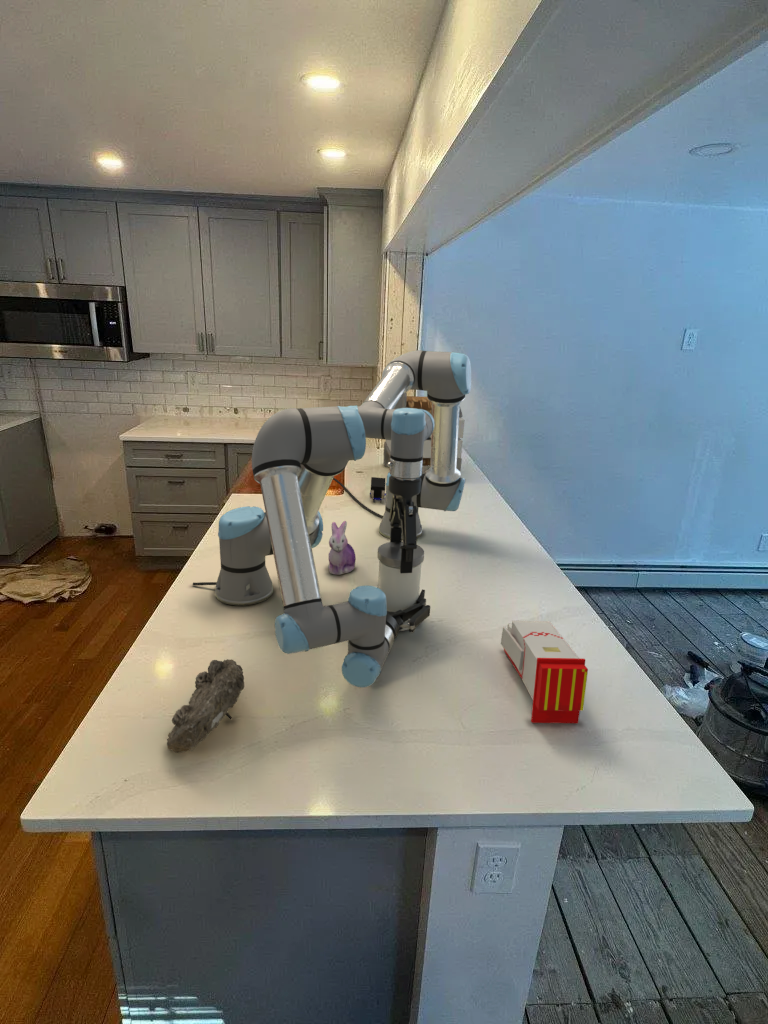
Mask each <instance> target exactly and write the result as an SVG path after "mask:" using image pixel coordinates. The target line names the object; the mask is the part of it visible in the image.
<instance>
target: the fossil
mask: <svg viewBox="0 0 768 1024" xmlns="http://www.w3.org/2000/svg"><path fill="white" fill-rule="evenodd" d="M243 670H244V669H243V667H242V665H240V664H237V662H236V661H235V660H234V659H232V658H231V659H227V658H226V659H224V660H223V661H222V660H217V659H212V660H211V661H210V663H209V665H208V666H207V671H201V672H199V673H198V674H197V675H196V676H195V680H194V684H195V685H194V687H195V689H194V690H193V693H192V694H191V697H190V698H189V700H188V704H184V705H182V706H181V707H180V709H177V710H176V711H175V713H174V715H173V716H172V718H171V723H172V724H173V727H172V730H171V731H170V732H168V734H167V738H166V741H167V742H166V745H167V749H168V750H169V751H173V752H174V753H176V754H178V753H182V752H188V751H189V752H192V751H193V750H195V748H196V747H197V746H199V744H200V743H201V742H203V741H204V740H205V739H206V738H207V737H208V736H209V735H210V734H211V733H212V732H214V730H215V729H217V727H218V726H219V724H220V722H221V721H222V720H223V719H224V718H225V716H226V717H227V719H229V720H233V717H232V715H230V714H229V710H230V709H231V708H234V706H235V704H236V703H237V702H238V699H239V697H240V695H241V693H242V691H243V690H245V689H244V688H245V675H244V671H243Z"/></svg>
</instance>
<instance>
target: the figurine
mask: <svg viewBox="0 0 768 1024" xmlns="http://www.w3.org/2000/svg"><path fill="white" fill-rule="evenodd" d="M347 525H348V522H347V520H344V521H343V522H341V524H340V526H339V527H338V525H337V523H336V522H335V521H332V522H331V536H330V537H329V540H328V545H329V548H330V550H329V552H328V566H327V568H328V573H329V574H331V575H332V574H333V575H338V576H339V575H343V574H348V573H351V572H352V571H353V570H354V569H355V566H356V560H357V559H356V552H355V549H354V548H353V546H352V545H351V544H350V543H349V541H348V538H347V535H346V534H345V533H346V529H347Z"/></svg>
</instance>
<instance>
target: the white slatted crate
mask: <svg viewBox="0 0 768 1024" xmlns="http://www.w3.org/2000/svg"><path fill="white" fill-rule="evenodd" d="M407 394H408V392H406V393H403V395H402V396H401V398H400V399H399V401H398V403H397V404H396V406H395V407H394V410H396V409H400V408H415V409H423V410H426V411H428V412H429V413H430V414H431V415H432V402H431V401H430V400H429V399H428V398H427V396H415V395H414V396H413V395H412V396H411V395H407ZM464 429H465V419H464V418H463V411H462V408H461V407H460V409H459V428H458V447H457V466H456V468H457V469H458V470H459V471H460V474H461V472H462V461H463V460H462V453H463V442H464V441H463V440H462V439H463V438H464V431H465V430H464ZM390 453H391V440H385V439H384V442H383V466H384V467H388V468H390V467H389V466H388V463H389V462H390V461H391V460H390ZM430 463H431V436H430V437H429V438H428V439H426V440H425V441H424V446H423V465H422V467H430ZM461 475H462V474H461Z"/></svg>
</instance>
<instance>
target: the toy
mask: <svg viewBox="0 0 768 1024" xmlns="http://www.w3.org/2000/svg"><path fill="white" fill-rule="evenodd" d="M500 645H501V646H502V648H503V652H504V654H505V655H506V657H507V658H508V660H509V661H510V663H511V664H512V666H513V668H514V669H515V671H516V672H517V674H518V676H519V677H520V679H521V680H522V683H523V685H524V686H525V688H526V690H527V692H528V694H529V696H530V697H531V699H532V708H531V719H530V722H531V723H532V724H579V719H580V712H583V711H584V706H585V697H586V689H587V680H588V671H589V669H588V667H587V666H586V659H585V658H580V657H579V656H578V655H577V654H576V652H575V651H574V650H573V648H572V647H571V646H570V645H569V644H568V642H567V641H566V640H565V638H564V637H563V636H562V634H561V633H560V632H559V631H558V630H557V628H556V627H555V626H554V624H553V623H552V622H551V621H549V620H548V621H545V620H540V621H539V620H511V622H508V623H507V626H502V632H501V638H500Z"/></svg>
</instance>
